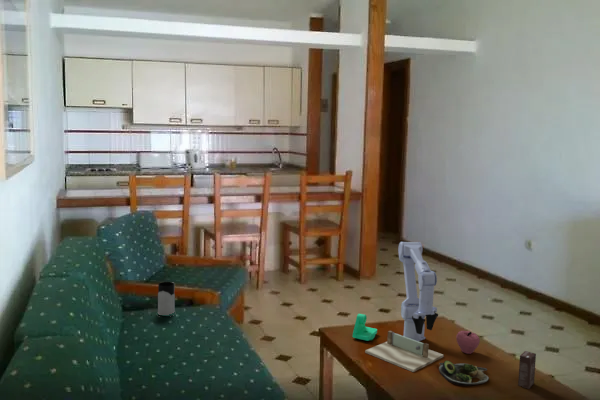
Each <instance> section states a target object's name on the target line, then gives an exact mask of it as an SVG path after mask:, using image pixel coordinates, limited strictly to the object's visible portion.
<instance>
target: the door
mask: <svg viewBox="0 0 600 400" xmlns="http://www.w3.org/2000/svg"><path fill="white" fill-rule="evenodd" d="M424 344H425V343H424V342H421V341H416V340H413V339H410V338H407V337H405V336H404V335H401V334H399V333H395V332H394V331H393V333H392V345H395V346H398V347H400V348H403V349H406V350H408V351H411V352H414V353H416V354H419V355H423V346H424Z"/></svg>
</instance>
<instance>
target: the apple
mask: <svg viewBox="0 0 600 400" xmlns="http://www.w3.org/2000/svg"><path fill="white" fill-rule="evenodd" d="M456 342H457V345H458V347H459V348H460V351H461V352H462V353H465V354H469V355H471V354H472V353H474V351H475V350H476V349H477V348H478V346H479V344H480V337H479V336H478V335H477V333H475V332H472V331H470V330H460V331H458V332H457V334H456Z"/></svg>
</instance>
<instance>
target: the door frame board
mask: <svg viewBox="0 0 600 400" xmlns="http://www.w3.org/2000/svg"><path fill="white" fill-rule="evenodd" d="M393 332H394V331H392V330H388V331H387V339H386V340H387V341H385V342H382V343H380V344H378V345H375V346H373V347H370V348H368V349H365V351H364V353H365V354H367V355H370V356H373V357H375V358H377V359H380V360H382V361H385V362H387V363H389V364H392V365H394V366H397V367H399V368H402V369H405V370H407V371H410V372H411V373H414V372H416V371H418V370H420V369H422V368H424V367H427V366H429V365H430V364H432V363H434V362H436V361H439V360H441V359H443V358H444V357H445V356H444V354H442V353H440V352H437V351H434V350H431V349H429V348H430V347H429V346H430V345H429V343H427V342H426V343H424V346H423V355H419V354H416V353H414V352H411V351H408V350H406V349H403V348H400V347H398V346H395V345H392V333H393Z"/></svg>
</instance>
